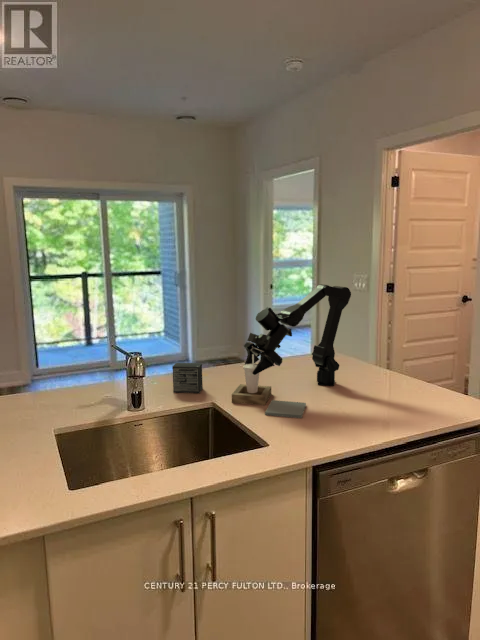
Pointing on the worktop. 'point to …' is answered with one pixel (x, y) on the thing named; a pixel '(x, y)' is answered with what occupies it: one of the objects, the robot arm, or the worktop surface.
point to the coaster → (286, 409)
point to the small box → (187, 377)
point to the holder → (251, 395)
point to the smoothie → (251, 377)
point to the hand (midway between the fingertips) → (248, 371)
